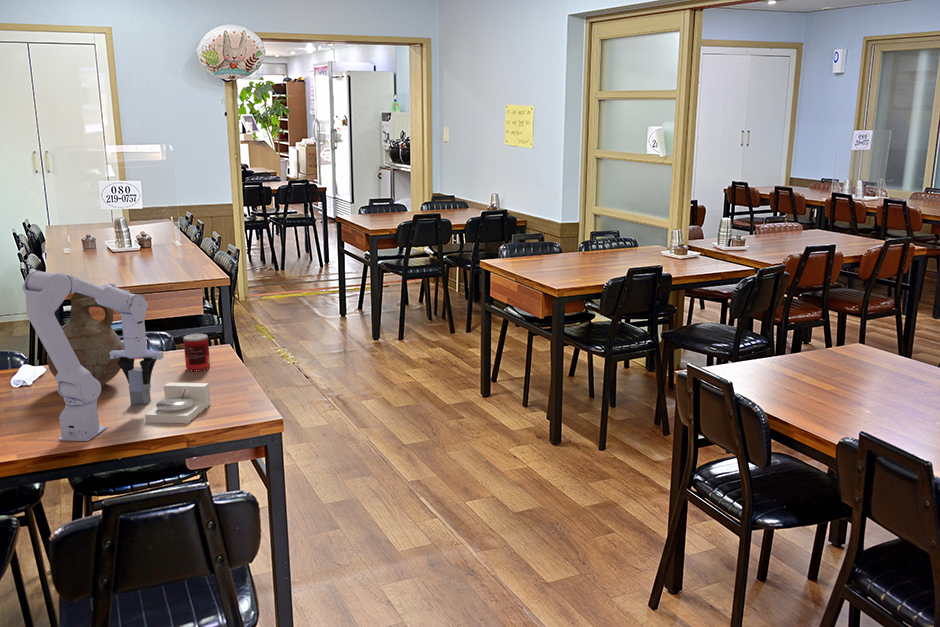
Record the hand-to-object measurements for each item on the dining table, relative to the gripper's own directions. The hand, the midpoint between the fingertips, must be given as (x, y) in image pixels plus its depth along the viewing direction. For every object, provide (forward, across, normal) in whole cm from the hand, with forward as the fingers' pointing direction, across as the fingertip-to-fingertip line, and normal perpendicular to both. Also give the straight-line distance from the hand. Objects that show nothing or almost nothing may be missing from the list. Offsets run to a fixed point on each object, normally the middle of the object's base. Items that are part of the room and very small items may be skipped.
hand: (139, 383), depth 222 cm
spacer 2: (+8, +4, -7) cm, 12 cm away
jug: (+9, +27, -20) cm, 35 cm away
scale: (+8, -11, 0) cm, 14 cm away
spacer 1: (+2, 0, 0) cm, 2 cm away
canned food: (+9, +2, -42) cm, 43 cm away
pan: (+5, -11, +2) cm, 12 cm away
